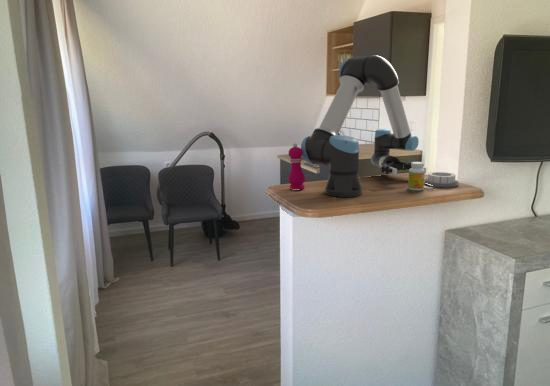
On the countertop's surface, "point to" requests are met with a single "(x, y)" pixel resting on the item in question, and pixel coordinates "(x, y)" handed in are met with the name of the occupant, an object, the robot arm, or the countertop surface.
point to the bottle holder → (441, 179)
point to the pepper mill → (296, 168)
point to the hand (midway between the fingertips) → (411, 171)
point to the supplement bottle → (416, 176)
